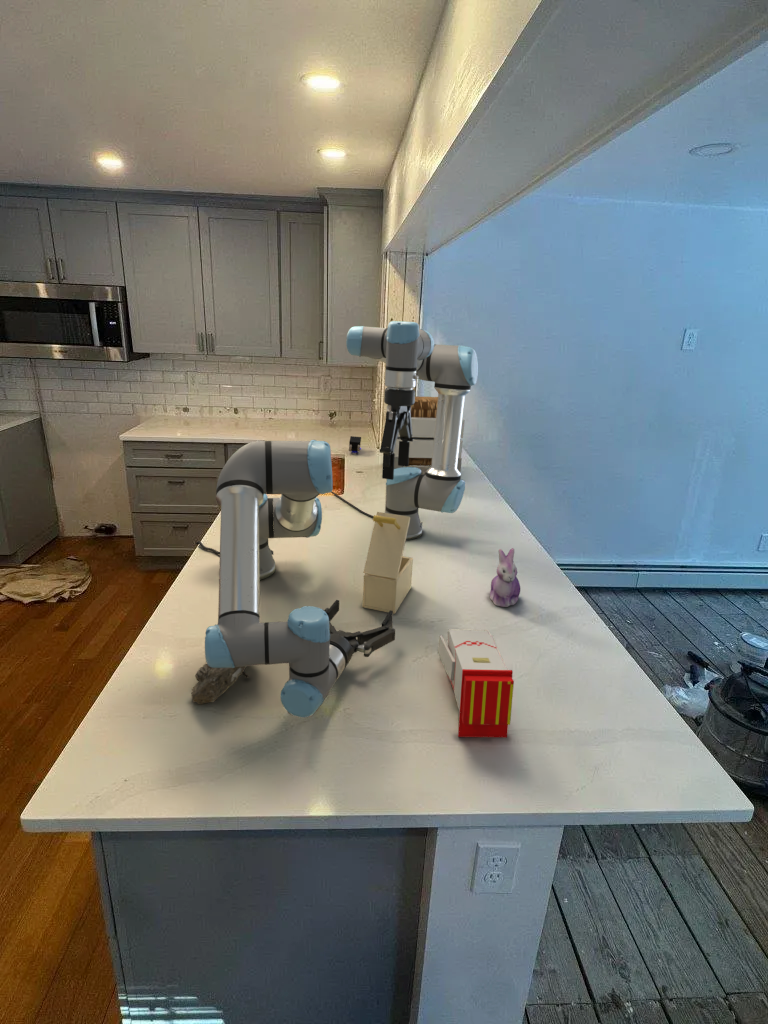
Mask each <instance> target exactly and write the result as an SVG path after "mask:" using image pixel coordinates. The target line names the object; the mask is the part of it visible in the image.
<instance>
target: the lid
mask: <svg viewBox="0 0 768 1024" xmlns="http://www.w3.org/2000/svg"><path fill="white" fill-rule="evenodd" d="M373 516H374V517H373V518H372V520H373V522H374V523H373V528H372V533H371V537H370V542H369V545H368V551H367V554H366V558H365V563H364V567H363V571H362V573H363V575H365V574H369V575H375V576H380V577H385V578H391V579H396V580H397V579H398V574H399V569H400V565H401V560H402V556H404V555H403V554H404V551H405V545H406V541H407V540H406V537H407V532H408V527H409V522H410V517H408V516H402V515H395V514H388V513H385V512H381V511H376V514H374V515H373Z"/></svg>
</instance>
